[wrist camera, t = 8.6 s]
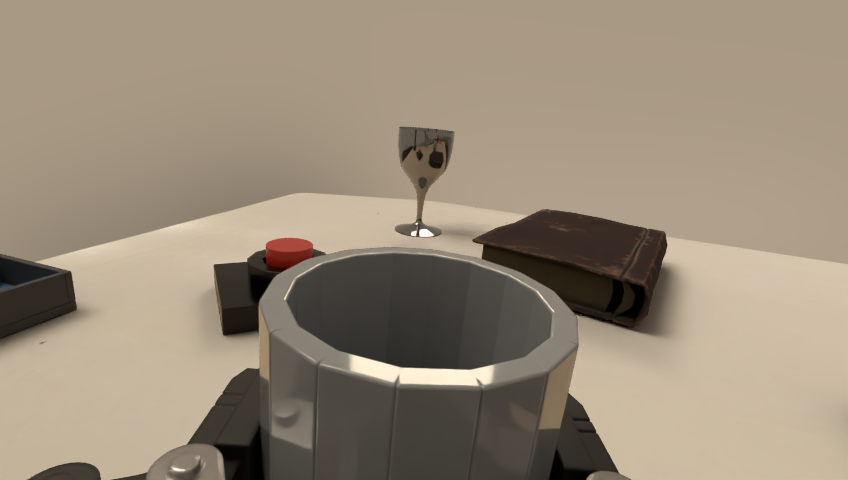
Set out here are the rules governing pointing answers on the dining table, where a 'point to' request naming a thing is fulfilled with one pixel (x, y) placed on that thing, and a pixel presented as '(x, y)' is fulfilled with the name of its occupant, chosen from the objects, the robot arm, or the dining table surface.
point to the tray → (32, 294)
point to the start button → (288, 252)
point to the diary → (583, 261)
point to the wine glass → (423, 168)
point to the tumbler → (411, 369)
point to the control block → (244, 291)
